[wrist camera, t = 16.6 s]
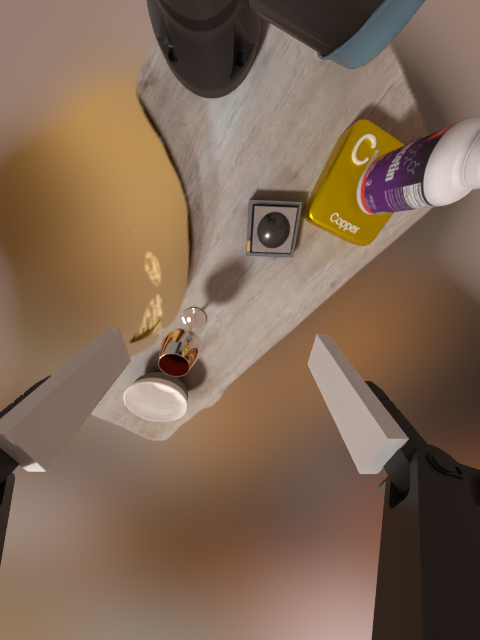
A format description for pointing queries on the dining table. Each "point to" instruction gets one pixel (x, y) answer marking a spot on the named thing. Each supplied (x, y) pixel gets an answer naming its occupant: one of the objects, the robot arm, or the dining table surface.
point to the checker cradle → (250, 225)
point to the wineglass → (182, 345)
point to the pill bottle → (424, 171)
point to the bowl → (157, 397)
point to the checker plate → (273, 229)
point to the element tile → (349, 185)
